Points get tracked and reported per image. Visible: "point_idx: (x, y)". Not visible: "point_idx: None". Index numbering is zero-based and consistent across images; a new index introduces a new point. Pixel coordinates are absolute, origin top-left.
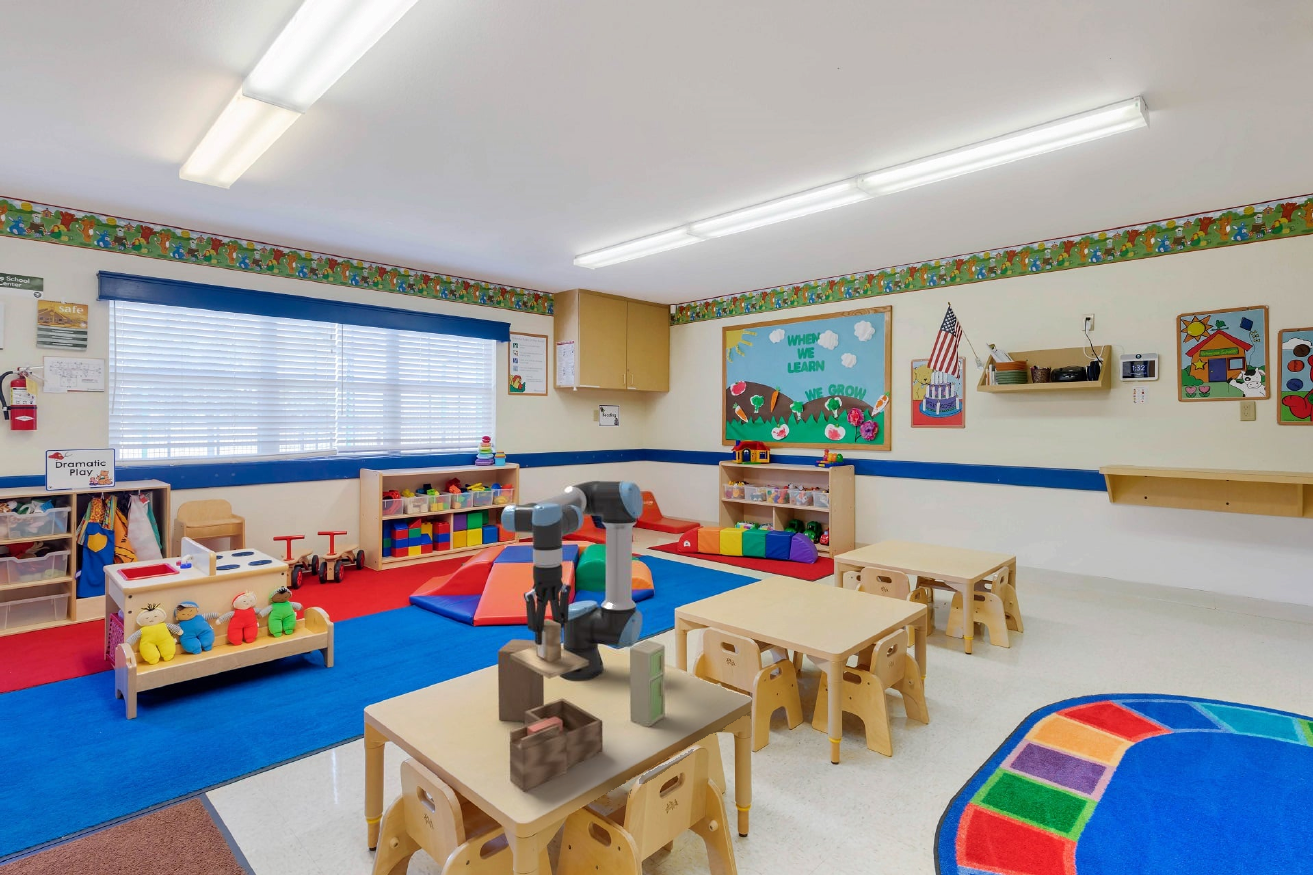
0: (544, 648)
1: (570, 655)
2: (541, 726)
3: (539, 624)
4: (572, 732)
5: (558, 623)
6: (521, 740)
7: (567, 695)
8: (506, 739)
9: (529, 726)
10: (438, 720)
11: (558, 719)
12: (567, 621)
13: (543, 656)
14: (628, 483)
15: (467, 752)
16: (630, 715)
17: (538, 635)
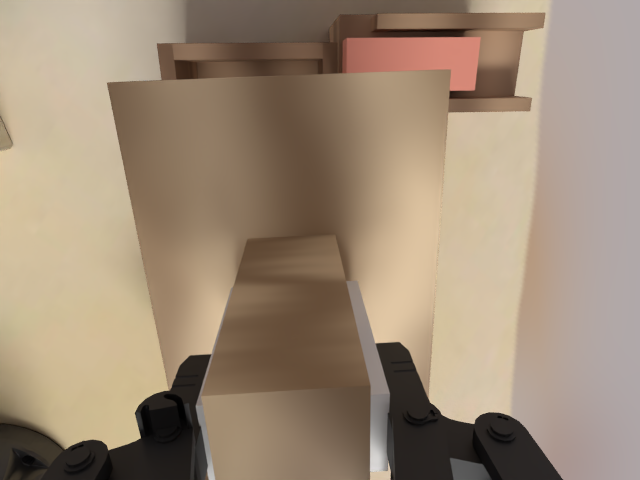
0: (356, 311)
1: (172, 243)
2: (434, 54)
3: (450, 474)
4: (294, 46)
5: (216, 422)
6: (542, 19)
7: (111, 383)
8: None
9: (465, 88)
10: None
11: (353, 58)
12: (67, 453)
13: (358, 284)
14: None
15: (459, 288)
16: (3, 149)
17: (420, 392)
